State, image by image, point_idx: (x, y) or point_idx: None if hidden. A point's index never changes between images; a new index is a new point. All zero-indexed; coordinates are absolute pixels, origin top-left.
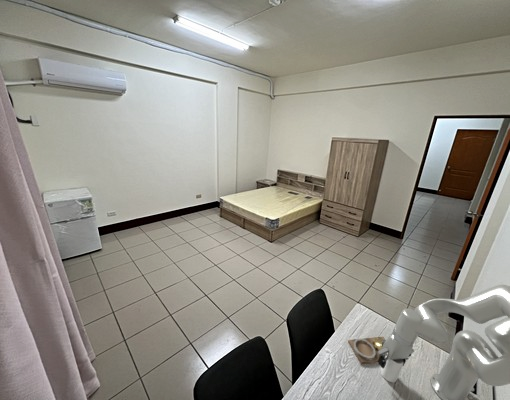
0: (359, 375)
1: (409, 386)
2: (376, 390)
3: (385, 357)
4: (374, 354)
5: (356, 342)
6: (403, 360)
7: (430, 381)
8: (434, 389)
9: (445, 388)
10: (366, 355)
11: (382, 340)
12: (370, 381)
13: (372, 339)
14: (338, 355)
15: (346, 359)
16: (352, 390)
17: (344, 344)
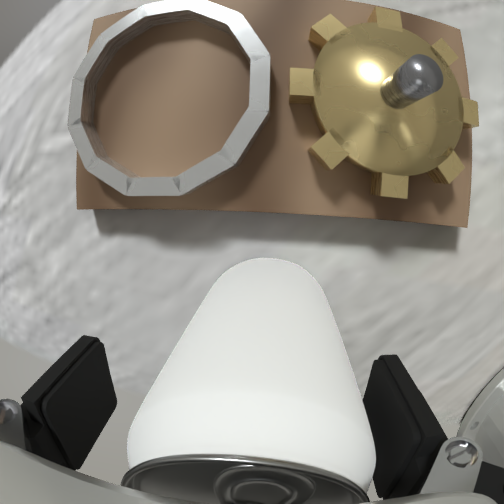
0: (54, 273)
1: (362, 392)
2: (115, 367)
3: (155, 382)
4: (218, 164)
5: (132, 33)
6: (378, 485)
7: (498, 373)
8: (471, 414)
9: (494, 461)
10: (151, 152)
11: (429, 52)
12: (102, 320)
13: (339, 13)
14: (3, 138)
15: (26, 164)
16: (10, 326)
17: (70, 51)
